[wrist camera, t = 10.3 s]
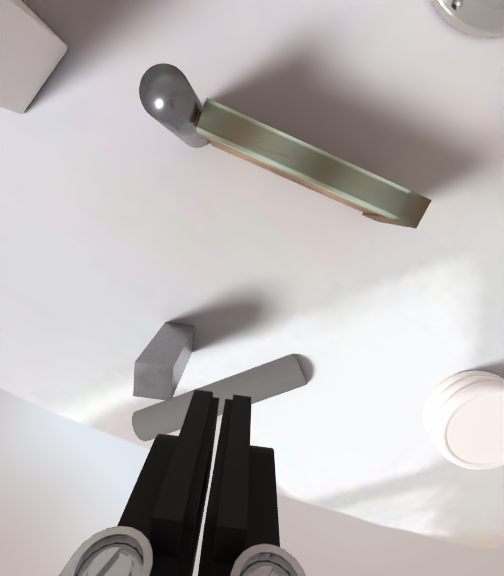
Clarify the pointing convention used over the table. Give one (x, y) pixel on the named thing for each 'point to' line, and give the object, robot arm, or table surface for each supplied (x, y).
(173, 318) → the table surface
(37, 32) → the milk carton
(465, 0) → the robot arm
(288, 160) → the wooden board
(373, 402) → the table surface
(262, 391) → the half round rod
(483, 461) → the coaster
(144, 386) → the gate posts
